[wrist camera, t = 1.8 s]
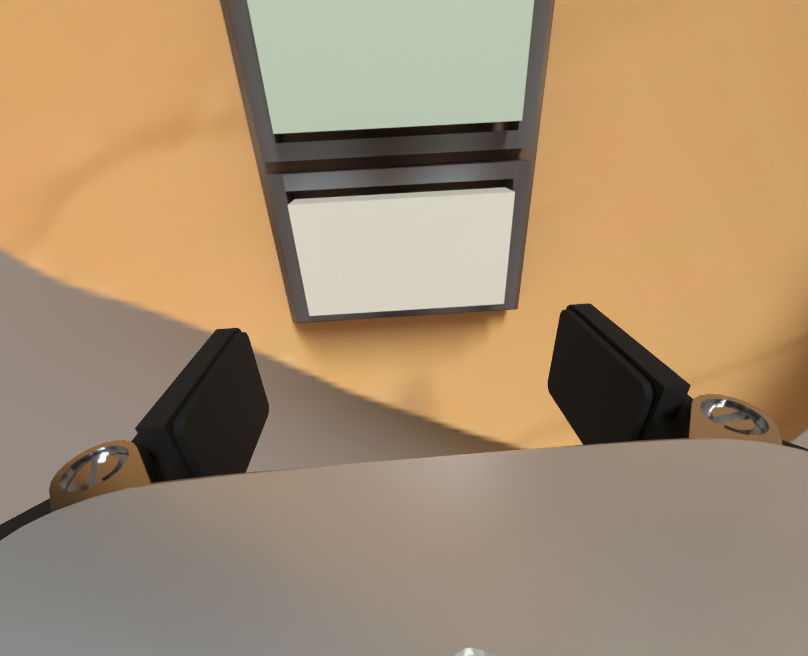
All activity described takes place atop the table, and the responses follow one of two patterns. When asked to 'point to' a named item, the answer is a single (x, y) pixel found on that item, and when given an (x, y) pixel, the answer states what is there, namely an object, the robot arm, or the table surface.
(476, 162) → the dark grey tile board
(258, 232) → the table surface
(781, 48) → the table surface
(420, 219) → the cream tile
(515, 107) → the sage tile
